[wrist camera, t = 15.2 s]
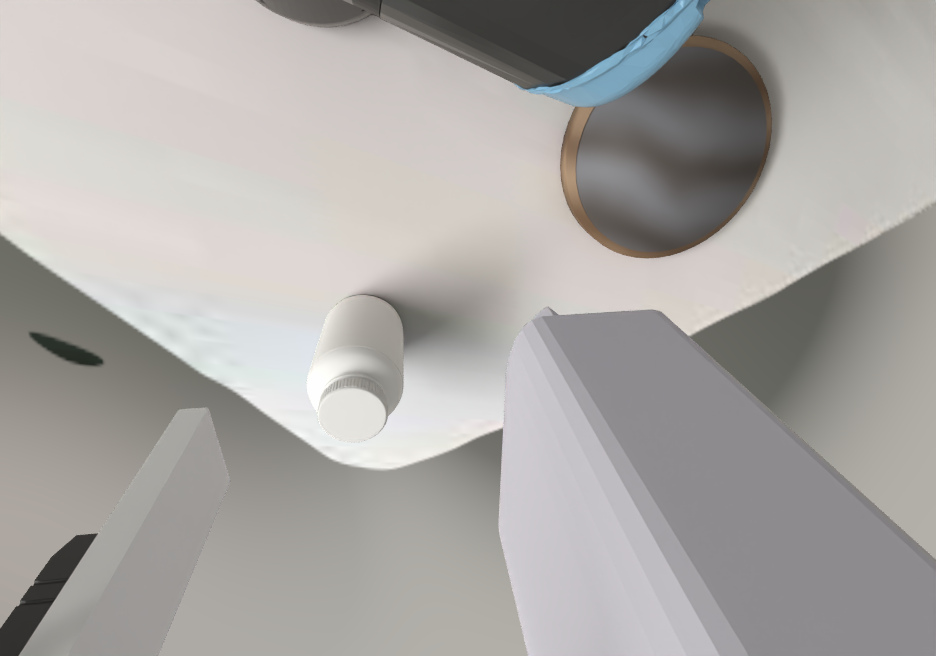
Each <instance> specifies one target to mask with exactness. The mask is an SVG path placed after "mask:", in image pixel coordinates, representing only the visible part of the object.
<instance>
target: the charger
mask: <svg viewBox="0 0 936 656" xmlns="http://www.w3.org/2000/svg"><path fill="white" fill-rule="evenodd" d="M499 534H500V539H501V543H502V547H503V551H504V556H505V560H506V564H507V568H508V572H509V576H510V581H511V585H512V589H513V593H514V598H515V602H516V606H517V610H518V614H519V619H520V623H521V627H522V632H523V636H524V640H525V644H526V649H527V652H528V656H936V560H935V559H934V558H933V557H932V556H931V555H930V554H929V553H928V552H927V551H926V550H924V549H923V548H922V547H921V546H920V545H919V544H918V543H917V542H916V541H914V540H913V539H912V538H911V537H910V536H909V535H908V534H907V533H906V532H905V531H903V530H902V529H901V528H900V527H899V526H898V525H897V524H896V523H895V522H893V521H892V520H891V519H890V518H889V517H888V516H887V515H886V514H885V513H884V512H882V511H881V510H880V509H879V508H878V507H877V506H876V505H875V504H874V503H872V502H871V501H870V500H869V499H868V498H867V497H866V496H865V495H864V494H862V493H861V492H860V491H859V490H858V489H857V488H856V487H855V486H854V485H852V484H851V483H850V482H849V481H848V480H847V479H846V478H844V476H843V475H841V474H840V473H839V472H838V471H837V470H836V469H835V468H834V467H833V466H831V465H830V464H829V463H828V462H827V461H826V460H825V459H824V458H823V457H822V456H820V455H819V454H818V453H817V452H816V451H815V450H814V449H813V448H812V447H810V446H809V445H808V444H807V443H806V442H805V441H804V440H803V439H802V438H800V437H799V436H798V435H797V434H796V433H795V432H794V431H793V430H792V429H790V428H789V427H788V426H787V425H786V424H785V423H784V422H783V421H782V420H780V419H779V418H778V417H777V416H776V415H775V414H774V413H773V412H772V411H770V410H769V409H768V408H767V407H766V406H765V405H764V404H763V403H762V402H761V401H759V400H758V399H757V398H756V397H755V396H754V395H753V394H752V393H750V391H748V390H747V389H746V388H745V387H744V386H743V385H742V384H741V383H740V382H738V381H737V380H736V379H735V378H734V377H733V376H732V375H731V374H730V373H728V372H727V371H726V370H725V369H724V368H723V367H722V366H721V365H720V364H718V363H717V362H716V361H715V360H714V359H713V358H712V357H711V356H710V355H709V354H707V353H706V352H705V351H704V350H703V349H702V348H701V347H700V346H698V345H697V344H696V343H695V342H694V341H693V340H692V339H691V338H690V337H689V336H687V335H686V334H685V333H684V332H683V331H682V330H681V329H680V328H679V327H678V326H676V325H675V324H674V323H673V322H672V321H671V320H670V319H669V318H668V317H666V316H665V315H664V314H663V313H662V312H660V311H656V310H637V311H621V312H604V313H588V314H572V315H558V314H557V313H556V312H554V311H553V310H552V309H550V308H549V307H548V306H547V307H546V308H545V309H543V310H542V311H541V312H539V313H538V314H537V315H536V316H535V317H534V319H533V320H531V321H530V322H529V323H528V324H526V325H524V327H523V328H522V329H521V331H520V333H519V334H518V336H517V338H516V339H515V341H514V343H513V346H512V349H511V352H510V355H509V358H508V364H507V371H506V384H505V404H504V425H503V446H502V468H501V486H500V507H499Z"/></svg>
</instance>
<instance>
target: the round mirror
mask: <svg viewBox="0 0 936 656" xmlns="http://www.w3.org/2000/svg"><path fill="white" fill-rule="evenodd" d="M771 128H772V117H771V107H770V101H769V97H768V93H767V90H766V87H765V85H764V83H763V80H762V78H761V76H760V75H759V73H758V71H757V70H756V68H755V67H754V65H753V64H752V63H751V62H750V61H749V60H748V58H747V57H746V56H744V55H743V54H742V53H741V52H739V51H738V50H737V49H736V48H734V47H732V46H730V45H728V44H727V43H725V42H722V41H719V40H716V39H713V38H709V37H703V36H690V37H689V38H688V40H687V41H686V42H685V43H684V44H683V45H682V47H681V48H680V49H679V50H678V51H677V52H676V53H675V54H674V55H673V56H672V57H671V58H670V59H669V60H668V61H667V62H666V63H665V64H664V65H663V66H662V67H661V68H660V69H659V70H658V71H657V72H656V73H655V74H653V75H652V76H651V77H650V78H649V79H647V80H646V81H645V82H644V83H642V84H641V85H639V86H638V87H637V88H635V89H634V90H632V91H631V92H629V93H628V94H626V95H624V96H622V97H621V98H619V99H617V100H614V101H612V102H609V103H607V104H604V105H600V106H595V107H575V109H574V111H573V113H572V115H571V118H570V120H569V122H568V125H567V129H566V132H565V135H564V139H563V144H562V150H561V162H560V170H561V182H562V187H563V192H564V195H565V198H566V201H567V204H568V206H569V208H570V210H571V212H572V214H573V216H574V217H575V219H576V220H577V221H578V223H579V224H580V225H581V226H582V227H583V228H584V230H585V231H586V232H587V233H588V234H590V235H591V236H592V237H593V238H594V239H596V240H597V241H598V242H599V243H601V244H602V245H603V246H605V247H607V248H609V249H610V250H612V251H614V252H617V253H620V254H622V255H626V256H631V257H636V258H659V257H664V256H670V255H673V254H677V253H680V252H683V251H685V250H687V249H690V248H692V247H694V246H696V245H698V244H700V243H701V242H703V241H705V240H707V239H708V238H709V237H711V236H712V235H714V234H715V233H716V232H718V231H719V230H720V229H721V228H722V227H723V226H724V225H726V224H727V223H728V222H729V221H730V220H731V219H732V218H733V216H734V215H735V214H736V213H737V212H738V211H739V210H740V208H741V207H742V206H743V204H744V203H745V202H746V200H747V199H748V197H749V196H750V194H751V192H752V191H753V189H754V187H755V185H756V183H757V181H758V179H759V177H760V175H761V173H762V170H763V167H764V165H765V162H766V158H767V154H768V150H769V146H770V139H771Z"/></svg>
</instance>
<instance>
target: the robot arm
mask: <svg viewBox="0 0 936 656" xmlns="http://www.w3.org/2000/svg"><path fill="white" fill-rule="evenodd" d="M256 1H257V2H259V3H260V4H261V5H263V6H264V7H266V8H268V9H269V10H271V11H273V12H275V13H277V14H279V15H281V16H283V17H285V18H287V19H290V20H292V21H295V22H298V23H301V24H305V25H310V26H317V27H337V26H343V25H347V24H351V23H354V22H357V21H359V20H362V19H364V18H366V17H367V16H369V15H371V14H374V15H376V16H378V17H380V18H381V19H383V20H385V21H387V22H389V23H391V24H393V25H395V26H397V27H399V28H401V29H403V30H405V31H407V32H409V33H411V34H414V35H416V36H418V37H420V38H422V39H424V40H426V41H428V42H430V43H432V44H434V45H436V46H438V47H440V48H442V49H444V50H446V51H449V52H451V53H453V54H455V55H457V56H459V57H461V58H463V59H465V60H467V61H469V62H471V63H473V64H475V65H477V66H479V67H481V68H484V69H486V70H488V71H490V72H492V73H494V74H496V75H498V76H500V77H502V78H504V79H506V80H508V81H510V82H512V83H514V84H515V85H516V86H517V87H518V88H520V89H522V90H526V91H528V92H529V93H533V94H543V95H546V96H548V97H551V98H554V99H556V100H559V101H561V102H564V103H566V104H569V105H572V106H576V107H595V106H600V105H604V104H607V103H609V102H612V101H614V100H617V99H619V98H621V97H622V96H624V95H626V94H628V93H629V92H631V91H632V90H634V89H635V88H637V87H638V86H639V85H641V84H642V83H644V82H645V81H646V80H647V79H649V78H650V77H651V76H652V75H653V74H655V73H656V72H657V71H658V70H659V69H660V68H661V67H662V66H663V65H664V64H665V63H666V62H667V61H668V60H669V59H670V58H671V57H672V56H673V55H674V54H675V53H676V52H677V51H678V50H679V49H680V48H681V47H682V45H683V44H684V43H685V42H686V41H687V40H688V38H689V37H690V36H691V35H692V33H693V32H694V31H695V29H696V28H697V27H698V26H699V24H700V23H701V22H702V20H703V19H704V16H703V13H702V12H703V9H704V7H705V5H706V4H707V3H708V2H709V1H710V0H256ZM229 483H230V478H229V475H228V472H227V469H226V465H225V462H224V458H223V455H222V452H221V449H220V445H219V442H218V439H217V435H216V433H215V429H214V425H213V422H212V419H211V415H210V412H209V409H208V408H197V409H196V408H195V409H180V410H178V412H177V413H176V415H175V416H174V418H173V419H172V421H171V422H170V424H169V426H168V427H167V429H166V430H165V432H164V433H163V435H162V436H161V438H160V439H159V441H158V442H157V444H156V445H155V447H154V448H153V450H152V452H151V453H150V455H149V456H148V458H147V459H146V461H145V462H144V464H143V465H142V467H141V469H140V470H139V472H138V473H137V475H136V476H135V478H134V479H133V481H132V482H131V484H130V485H129V487H128V488H127V490H126V492H125V493H124V495H123V496H122V498H121V499H120V501H119V502H118V504H117V506H116V507H115V508H114V510H113V512H112V513H111V515H110V516H109V518H108V519H107V521H106V522H105V524H104V526H103V527H102V529H101V530H100V531H99V533H98V534H88V535H77V536H75V537H74V538H73V539H72V540H71V541H70V542H68V543H67V544H66V545H65V546H64V547H63V548H61V549H60V550H59V551H58V552H57V553H56V554H54V555H53V556H52V557H51V558H50V560H49V561H48V563H47V564H46V565H45V567H44V569H43V570H42V571H41V572H40V574H39V575H38V577H37V578H36V579H35V583H34V585H33V586H30V588H29V589H28V591H27V592H26V593H25V595H24V596H23V598H22V599H21V601H20V605H19V606H17V607H15V609H14V610H13V612H12V613H11V615H10V616H9V617H8V619H7V620H6V621H5V623H4V624H3V626H2V627H1V628H0V656H158V655H159V652H160V650H161V648H162V645H163V643H164V640H165V638H166V636H167V633H168V631H169V628H170V626H171V624H172V621H173V619H174V616H175V614H176V611H177V609H178V607H179V604H180V602H181V599H182V597H183V595H184V592H185V590H186V587H187V585H188V582H189V580H190V578H191V575H192V573H193V570H194V568H195V565H196V563H197V561H198V558H199V556H200V553H201V551H202V549H203V546H204V544H205V541H206V539H207V536H208V534H209V532H210V529H211V527H212V524H213V522H214V519H215V517H216V515H217V512H218V510H219V507H220V505H221V503H222V500H223V498H224V495H225V493H226V491H227V488H228V486H229Z"/></svg>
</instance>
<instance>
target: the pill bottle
mask: <svg viewBox="0 0 936 656" xmlns="http://www.w3.org/2000/svg"><path fill="white" fill-rule="evenodd" d="M307 391H308V395H309V398H310V401H311V403H312V405H313V406H314V408H315V409H316V410H317V417H318V420H319V423H320V425H321V427H322V428H323V430H324V431H325V432H326V433H327V434H328V435H330V436H331V437H333V438H335V439H337V440H340V441H344V442H361V441H365V440H368V439H370V438H372V437H374V436H375V435H377V434H378V433H379V432H380V431H381V430H382V429H383V428H384V425H385V424H386V422H387V417H388V416H389V415H390V414H391V413H392V412H393V411H394V409H395V408H396V406H397V405H398V403H399V401H400V399H401V396H402V393H403V326H402V322H401V319H400V317H399V315H398V313H397V312H396V310H395V309H394V308H393V307H392V306H391V305H390V304H388V303H387V302H386V301H384V300H382V299H380V298H377V297H374V296H369V295H356V296H351V297H348V298H346V299H344V300H342V301H340V302H339V303H337V304H336V305H335V306H334V307H333V308H332V309H331V311H330V312H329V314H328V316H327V317H326V320H325V323H324V326H323V329H322V332H321V335H320V339H319V342H318V345H317V348H316V351H315V354H314V357H313V361H312V364H311V367H310V370H309V373H308V378H307Z"/></svg>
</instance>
